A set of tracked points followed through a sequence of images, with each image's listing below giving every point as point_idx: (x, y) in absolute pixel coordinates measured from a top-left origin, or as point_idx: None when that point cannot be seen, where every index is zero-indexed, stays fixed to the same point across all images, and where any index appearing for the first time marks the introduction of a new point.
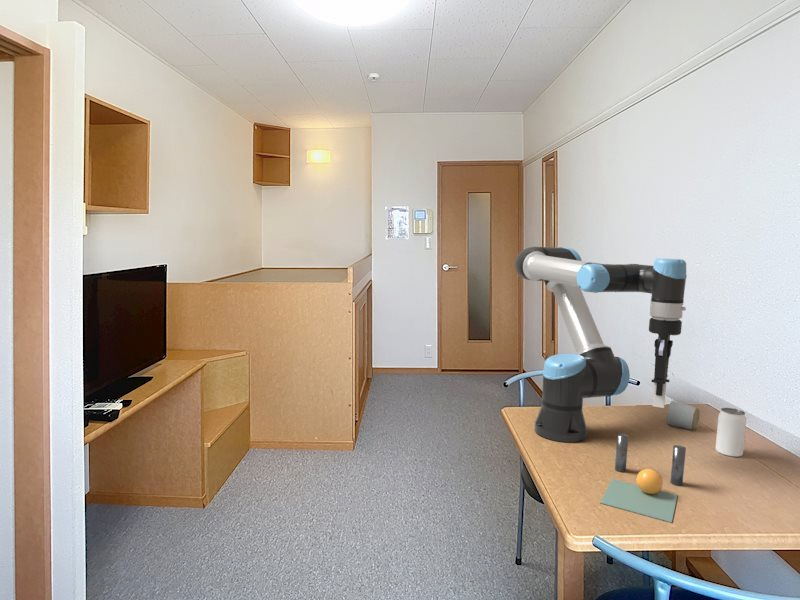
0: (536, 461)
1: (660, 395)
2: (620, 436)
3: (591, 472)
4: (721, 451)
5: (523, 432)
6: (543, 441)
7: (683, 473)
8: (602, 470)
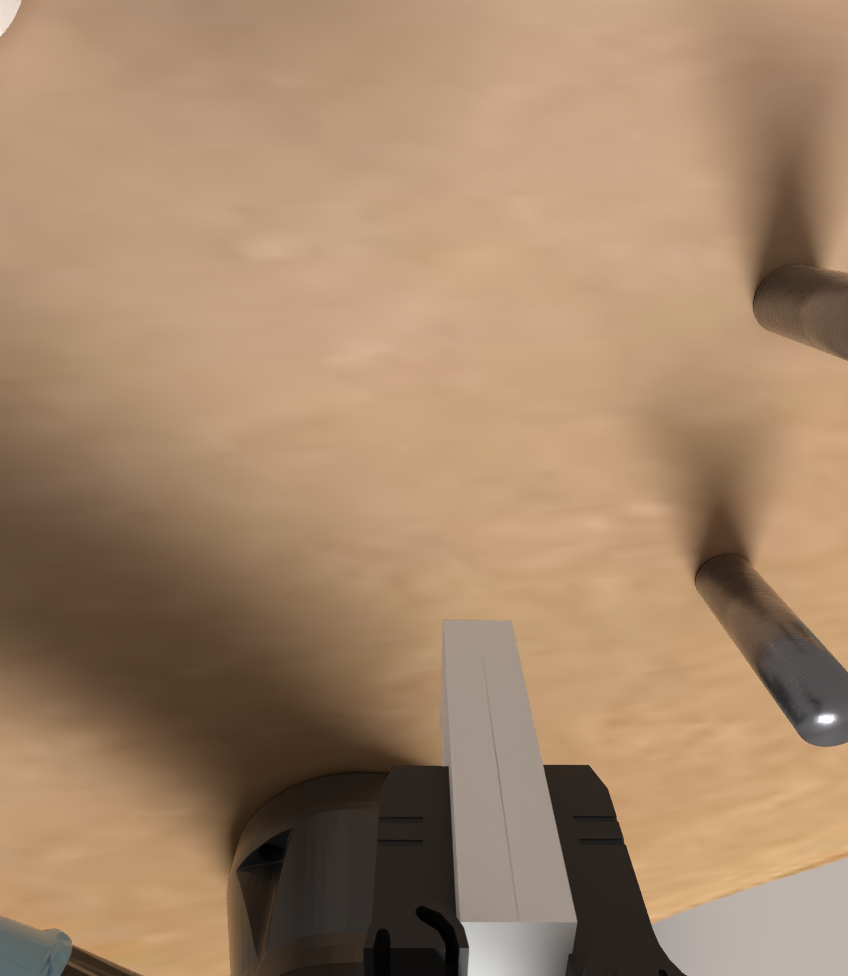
0: (785, 860)
1: (587, 782)
2: None
3: None
4: (13, 2)
5: None
6: None
7: (845, 272)
8: None
